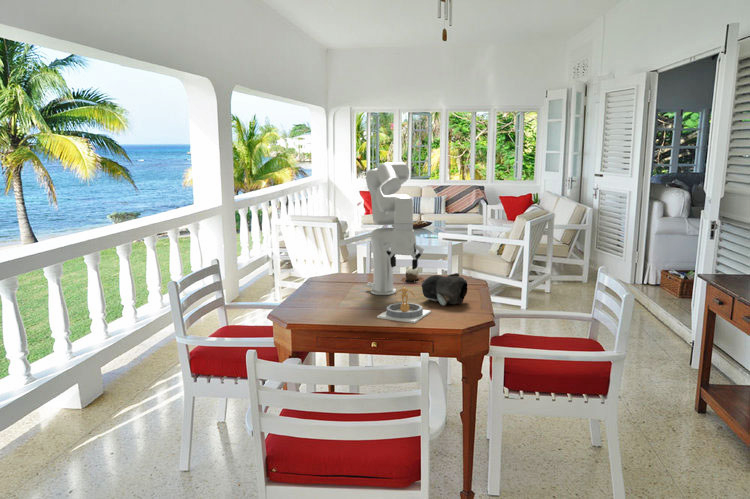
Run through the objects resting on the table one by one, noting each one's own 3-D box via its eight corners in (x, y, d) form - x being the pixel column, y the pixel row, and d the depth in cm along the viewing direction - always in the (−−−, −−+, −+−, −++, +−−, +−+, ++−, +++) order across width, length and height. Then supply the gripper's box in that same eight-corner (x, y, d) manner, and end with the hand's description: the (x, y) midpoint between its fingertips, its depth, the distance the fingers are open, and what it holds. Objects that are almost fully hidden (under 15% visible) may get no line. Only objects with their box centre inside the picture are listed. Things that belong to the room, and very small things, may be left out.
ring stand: (377, 317, 237) (377, 310, 236) (395, 307, 252) (395, 300, 251) (414, 323, 229) (414, 315, 229) (431, 312, 244) (431, 304, 243)
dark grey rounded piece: (459, 319, 251) (457, 296, 244) (415, 312, 260) (411, 289, 252) (471, 291, 265) (469, 268, 258) (429, 285, 274) (426, 263, 266)
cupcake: (403, 275, 312) (416, 262, 309) (417, 288, 310) (429, 275, 307) (396, 279, 301) (409, 265, 298) (410, 293, 299) (423, 279, 296)
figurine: (414, 311, 243) (414, 283, 241) (414, 315, 237) (414, 287, 235) (395, 311, 244) (395, 283, 242) (394, 315, 238) (394, 287, 236)
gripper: (380, 227, 235) (381, 267, 238) (419, 229, 227) (419, 271, 230) (388, 224, 242) (389, 264, 245) (426, 226, 233) (426, 267, 236)
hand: (403, 267), depth 237 cm, fingers open, 9 cm apart
